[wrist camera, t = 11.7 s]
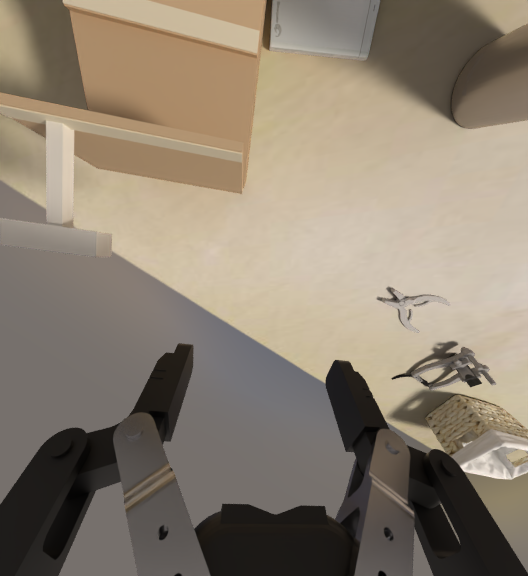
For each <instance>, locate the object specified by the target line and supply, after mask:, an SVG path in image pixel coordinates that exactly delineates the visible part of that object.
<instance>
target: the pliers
mask: <svg viewBox="0 0 528 576" xmlns="http://www.w3.org/2000/svg"><path fill="white" fill-rule="evenodd" d="M390 290H391V291H392V292H393V294H394V295H395V296H396V297H397V299H396V300H392V299H386V298H382V299H381V300H382V301H383V303H385V304H387V305H389V306H392V307H394V308H398V309H399V312H400V320H401V322H402V323H403V325H404V326H405V327H406V328H408V329H409V330H411V331H413V332H417V333H419V332H420V331H419V330H417V329H416V328H414V327H413V326H412V325H411V324H410V321H411V319H412V315H413V314H412V310H411V309H410V317H409V318H408V319H407V310H406V309H405V307H406V306H408V305H409V304H412V305H414V303H418V302H422V301H426V302H425V303H422V304H418V305H414V306H415V307H419V306H423V305H426V304H428V303H430V302H433V301H435V302H440V303H443V304H446V305H448V306H449V305H450V303H449V302H448V301H447V300H445V299H443V298H441V297H439V296H434V295H421V296H417V297H408V298H406V297H405V296H404V295H403V294H401V293H400V292H398V291H397V290H395V289H394V288H392V289H390Z"/></svg>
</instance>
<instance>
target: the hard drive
mask: <svg viewBox="0 0 528 576" xmlns="http://www.w3.org/2000/svg"><path fill="white" fill-rule="evenodd" d="M379 5H380V0H272V4H271V24H270V44H269V51H275V52H285V53H294V54H303V55H313V56H322V57H332V58H342V59H352V60H361V61H365V60H366V59H367V58H368V55H369V51H370V46H371V42H372V37H373V33H374V28H375V23H376V19H377V14H378V9H379Z"/></svg>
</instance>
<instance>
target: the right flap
mask: <svg viewBox="0 0 528 576" xmlns="http://www.w3.org/2000/svg"><path fill="white" fill-rule="evenodd" d="M0 113H1V114H3V115H5V116H6V117H9V118H12V119H14V120H16V121H18V122H19V123H21V124H23V125H24V126H26V127H28V128H29V129H31V130H33V131H35V132H36V133H38V134H40V135H41V136H43V137H45V138H46V204H47V225H46V224H39V223H32V222H25V221H18V220H11V219H4V218H0V233H1V234H0V235H1V245H5V246H13V247H20V248H28V249H36V250H44V251H51V252H59V253H67V254H74V255H82V256H91V257H111V247H112V234H109V233H102V232H95V231H88V230H81V229H74V228H73V203H74V155H75V156H77V157H79V158H81V159H82V160H84V161H86V162H87V163H89V164H91V165H92V166H94V167H96V168H98V169H104V170H109V171H115V172H121V173H126V174H132V175H138V176H143V177H149V178H155V179H160V180H166V181H172V182H177V183H183V184H189V185H194V186H200V187H206V188H211V189H217V190H223V191H228V192H234V193H240V194H242V189H243V142H238V141H233V140H228V139H224V138H219V137H214V136H209V135H204V134H199V133H195V132H190V131H185V130H180V129H175V128H170V127H165V126H161V125H156V124H151V123H146V122H141V121H136V120H132V119H127V118H122V117H117V116H112V115H107V114H102V113H98V112H93V111H88V110H83V109H78V108H73V107H68V106H64V105H59V104H54V103H49V102H44V101H39V100H35V99H30V98H25V97H20V96H15V95H10V94H5V93H1V92H0Z"/></svg>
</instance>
